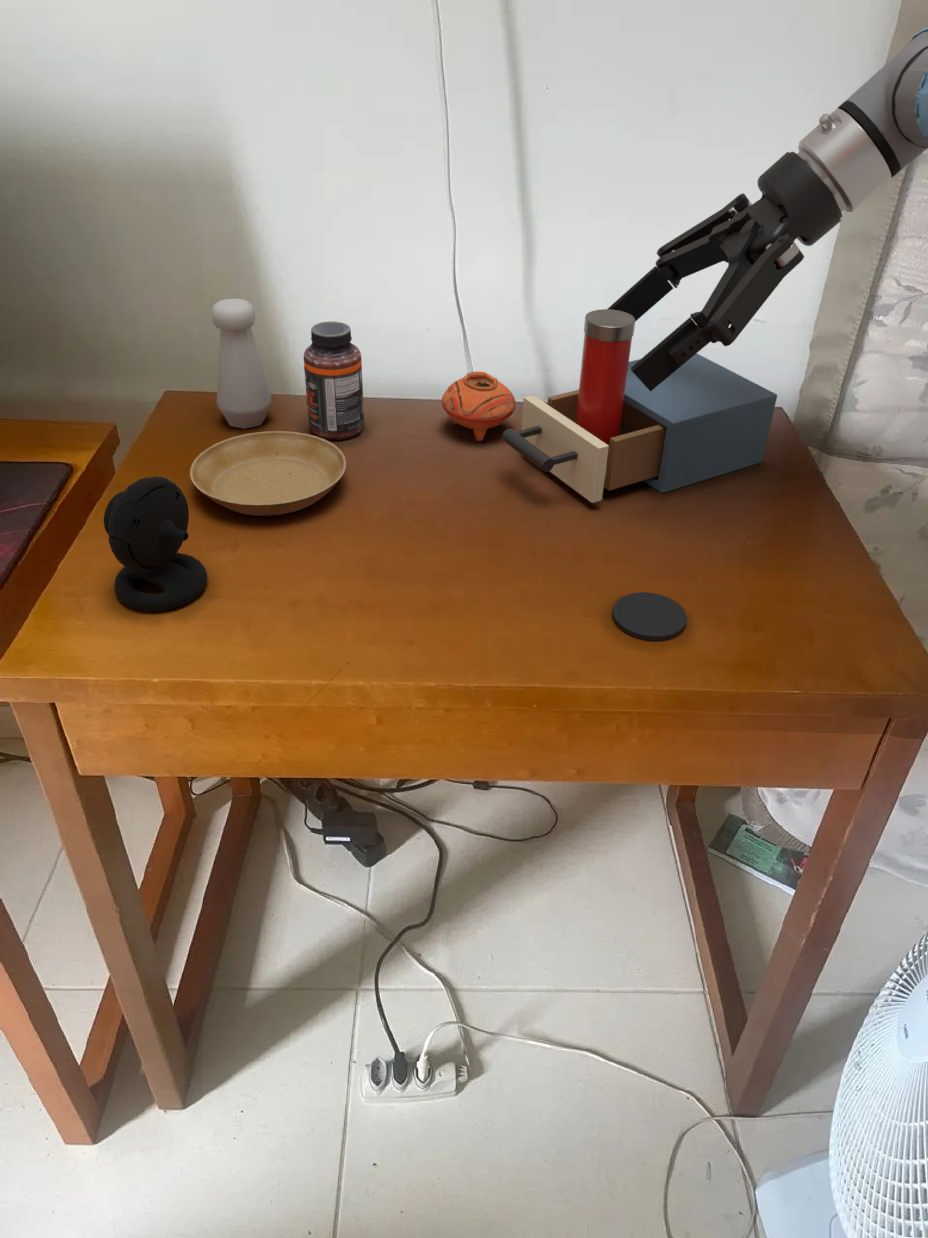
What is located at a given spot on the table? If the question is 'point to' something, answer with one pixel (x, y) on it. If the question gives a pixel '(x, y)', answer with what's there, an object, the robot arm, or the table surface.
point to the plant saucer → (268, 472)
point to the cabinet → (704, 421)
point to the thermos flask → (604, 372)
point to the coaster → (649, 616)
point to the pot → (478, 402)
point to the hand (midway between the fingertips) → (625, 350)
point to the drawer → (587, 446)
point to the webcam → (153, 545)
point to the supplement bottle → (333, 382)
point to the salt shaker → (239, 366)
